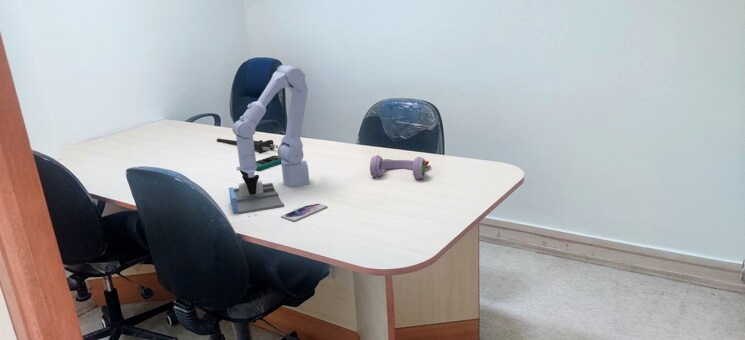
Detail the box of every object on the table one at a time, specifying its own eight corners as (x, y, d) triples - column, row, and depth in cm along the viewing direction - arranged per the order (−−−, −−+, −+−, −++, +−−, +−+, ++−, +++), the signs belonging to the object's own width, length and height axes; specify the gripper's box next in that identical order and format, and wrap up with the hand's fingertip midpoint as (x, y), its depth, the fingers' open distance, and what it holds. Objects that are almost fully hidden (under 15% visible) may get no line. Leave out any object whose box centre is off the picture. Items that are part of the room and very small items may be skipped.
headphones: (368, 160, 204) (382, 140, 221) (370, 184, 208) (383, 162, 225) (420, 162, 199) (430, 141, 216) (421, 186, 203) (431, 164, 220)
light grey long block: (273, 188, 199) (272, 178, 198) (274, 191, 196) (273, 181, 195) (239, 194, 196) (238, 183, 194) (240, 196, 193) (239, 186, 192)
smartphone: (279, 216, 175) (313, 202, 186) (280, 218, 176) (314, 204, 186) (294, 220, 171) (328, 206, 182) (294, 223, 171) (328, 208, 182)
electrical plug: (266, 155, 245) (265, 144, 243) (211, 147, 270) (209, 137, 269) (281, 150, 251) (279, 140, 249) (225, 143, 277) (224, 133, 275)
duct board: (272, 186, 204) (270, 170, 202) (284, 208, 182) (282, 191, 180) (227, 193, 199) (225, 177, 197) (234, 217, 177) (232, 199, 176)
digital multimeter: (286, 163, 233) (286, 156, 232) (259, 172, 223) (258, 165, 222) (275, 160, 238) (274, 154, 237) (248, 169, 227) (247, 162, 226)
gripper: (232, 150, 196) (237, 186, 200) (237, 161, 183) (242, 199, 187) (252, 148, 198) (256, 183, 203) (258, 158, 185) (262, 195, 189)
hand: (251, 190), depth 195 cm, fingers open, 7 cm apart
